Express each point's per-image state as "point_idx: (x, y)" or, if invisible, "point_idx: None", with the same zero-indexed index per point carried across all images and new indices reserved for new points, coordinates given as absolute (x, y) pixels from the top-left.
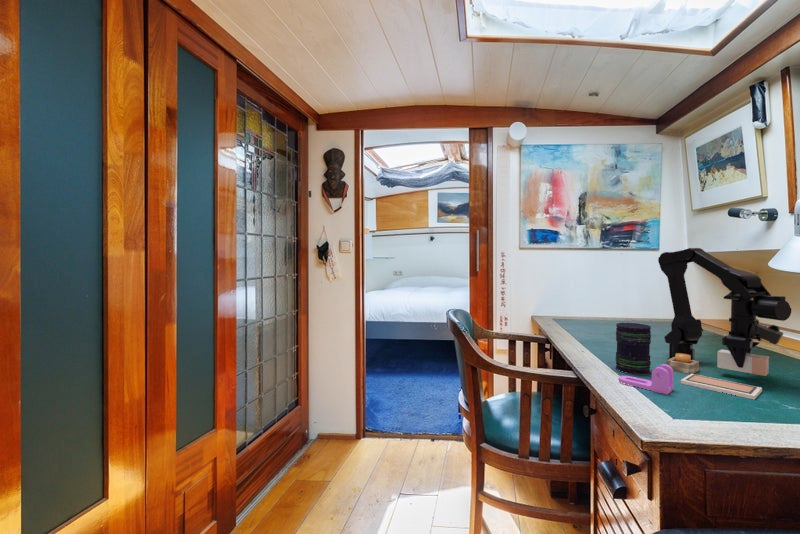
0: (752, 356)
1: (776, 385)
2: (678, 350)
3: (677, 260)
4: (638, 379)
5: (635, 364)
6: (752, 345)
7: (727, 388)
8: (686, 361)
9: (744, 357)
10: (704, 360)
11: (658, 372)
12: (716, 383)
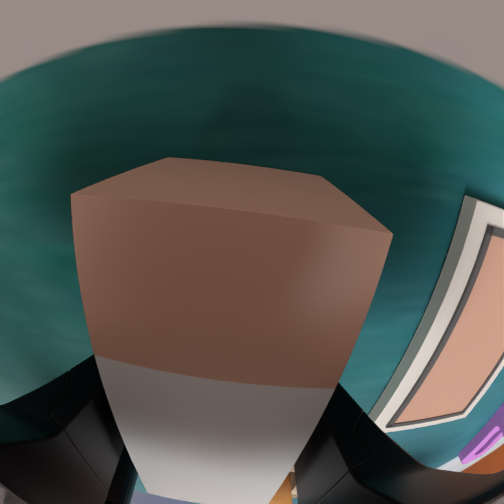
0: (296, 387)
1: (257, 104)
2: (131, 490)
3: None
4: (483, 444)
5: None
6: (27, 464)
7: None
8: (286, 481)
9: (370, 418)
10: (29, 386)
11: None
12: (482, 354)
